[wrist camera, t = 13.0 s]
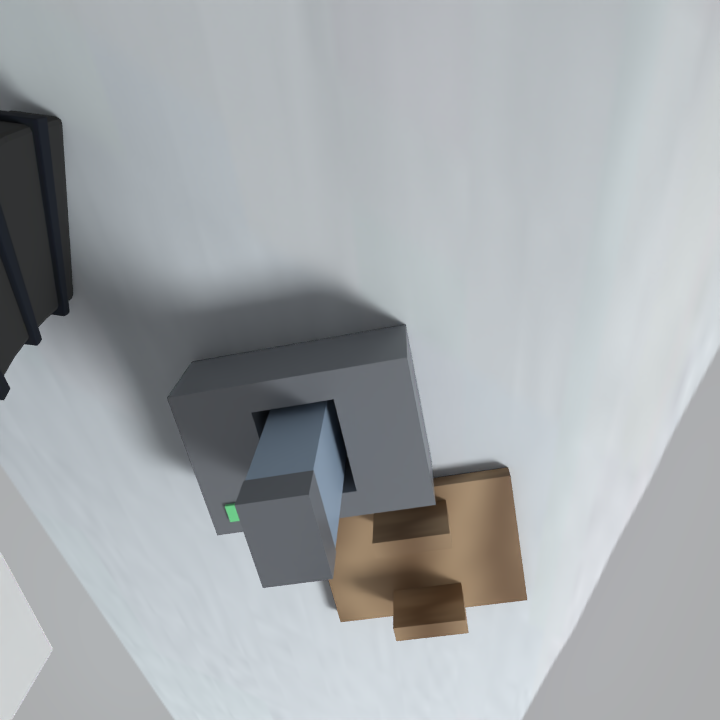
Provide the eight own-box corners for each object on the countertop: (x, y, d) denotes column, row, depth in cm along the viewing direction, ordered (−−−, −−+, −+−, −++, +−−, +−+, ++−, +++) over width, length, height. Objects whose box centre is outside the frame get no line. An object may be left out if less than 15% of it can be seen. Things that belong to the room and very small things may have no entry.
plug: (331, 380, 41) (308, 494, 30) (348, 448, 43) (332, 578, 32) (276, 389, 41) (234, 505, 30) (295, 456, 43) (262, 588, 32)
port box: (405, 324, 40) (407, 358, 36) (431, 459, 44) (435, 506, 39) (191, 362, 42) (166, 399, 37) (234, 488, 46) (216, 537, 41)
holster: (508, 467, 44) (519, 508, 40) (524, 589, 48) (536, 638, 44) (308, 496, 46) (299, 538, 42) (341, 612, 50) (337, 660, 46)
